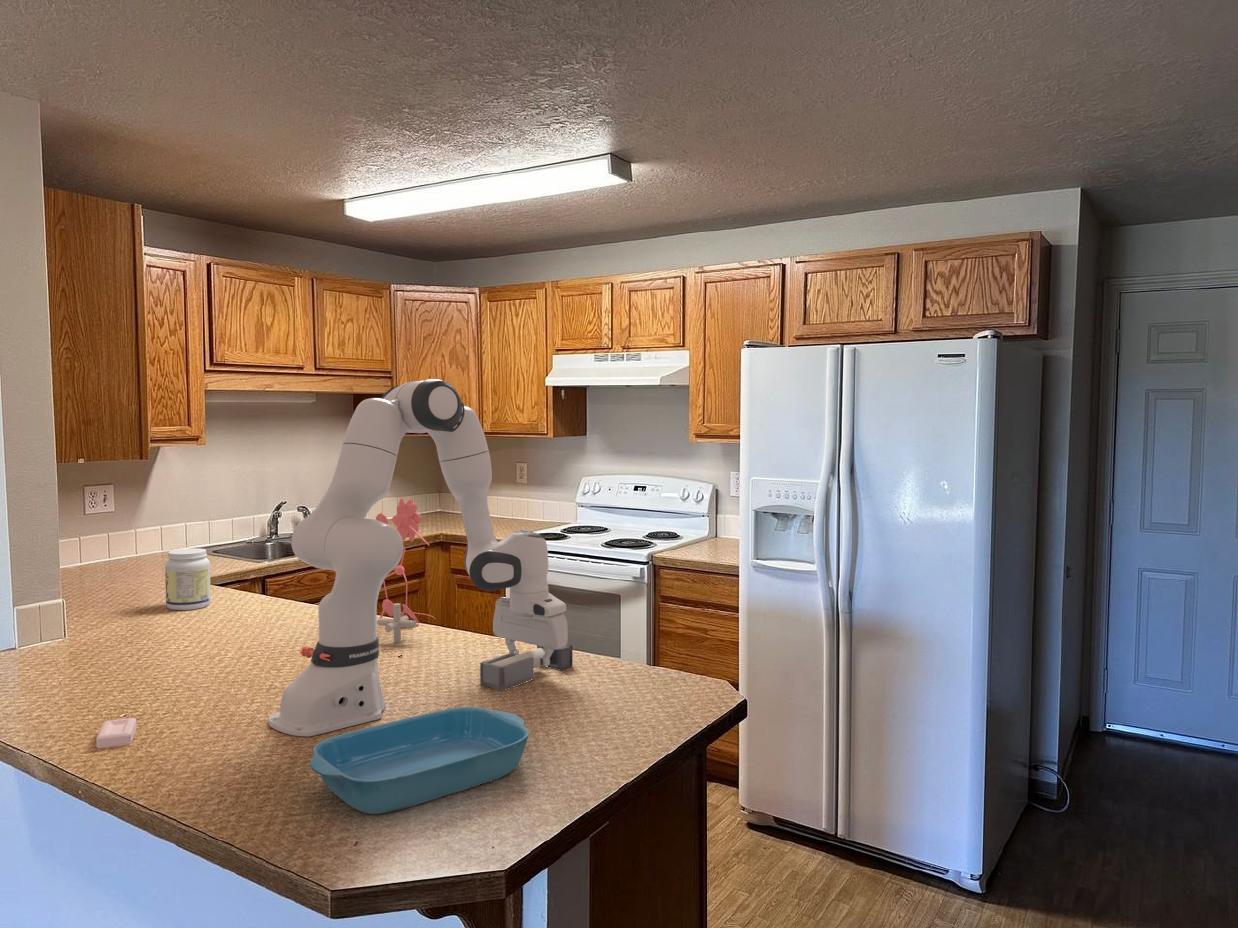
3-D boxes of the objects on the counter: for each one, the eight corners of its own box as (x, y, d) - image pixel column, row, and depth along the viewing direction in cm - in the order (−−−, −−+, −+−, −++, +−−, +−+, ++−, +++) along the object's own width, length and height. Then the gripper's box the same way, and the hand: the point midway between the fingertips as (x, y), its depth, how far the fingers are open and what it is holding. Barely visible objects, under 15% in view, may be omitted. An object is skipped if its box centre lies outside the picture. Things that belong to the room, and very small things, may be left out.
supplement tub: (170, 603, 267) (168, 548, 266) (213, 600, 271) (212, 546, 269) (162, 612, 255) (160, 555, 254) (207, 609, 259) (206, 553, 258)
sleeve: (501, 691, 187) (501, 668, 187) (480, 685, 191) (480, 662, 191) (533, 679, 195) (533, 657, 195) (512, 674, 199) (512, 652, 199)
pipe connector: (406, 648, 219) (406, 609, 218) (370, 646, 221) (369, 607, 220) (423, 638, 229) (423, 600, 228) (388, 636, 231) (387, 598, 230)
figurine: (412, 633, 234) (413, 503, 232) (360, 617, 251) (361, 496, 249) (458, 624, 245) (460, 500, 243) (406, 609, 262) (407, 493, 261)
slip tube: (500, 682, 189) (500, 664, 188) (487, 679, 191) (487, 661, 191) (546, 666, 201) (546, 649, 200) (534, 663, 203) (534, 646, 203)
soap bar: (96, 750, 155) (95, 737, 155) (104, 732, 163) (103, 720, 163) (130, 746, 157) (130, 733, 157) (136, 728, 165) (136, 716, 165)
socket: (561, 670, 202) (561, 649, 202) (537, 664, 207) (537, 643, 206) (572, 666, 205) (572, 645, 205) (548, 660, 210) (548, 640, 209)
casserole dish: (483, 732, 164) (482, 695, 164) (554, 770, 148) (554, 729, 147) (287, 788, 140) (286, 744, 139) (346, 841, 123) (345, 792, 123)
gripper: (486, 597, 202) (486, 656, 203) (553, 610, 190) (553, 673, 191) (505, 593, 207) (505, 650, 208) (572, 605, 195) (572, 666, 196)
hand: (529, 661), depth 199 cm, fingers open, 8 cm apart
